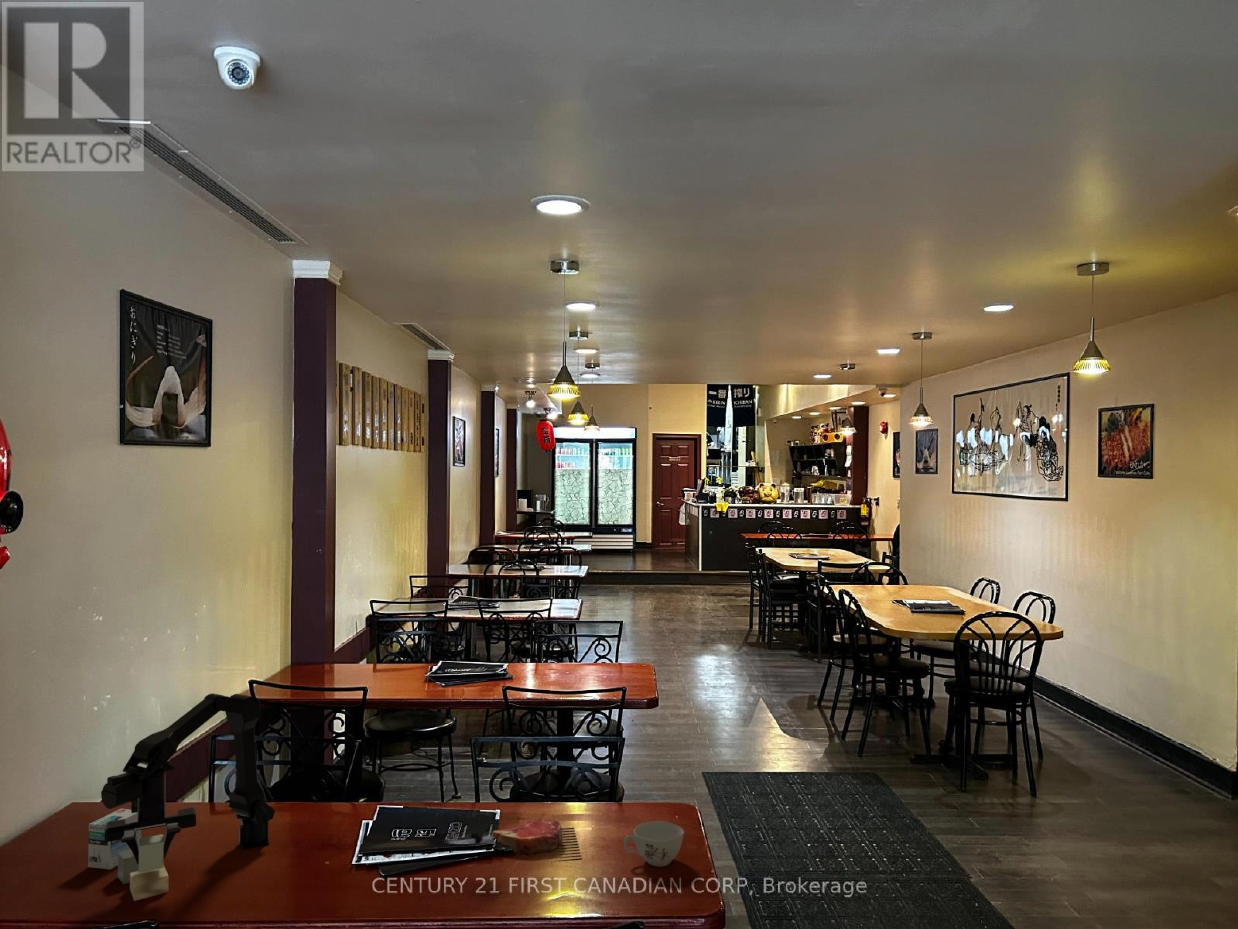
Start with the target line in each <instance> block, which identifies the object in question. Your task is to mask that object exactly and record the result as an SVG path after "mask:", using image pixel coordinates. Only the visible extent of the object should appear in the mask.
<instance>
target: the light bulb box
mask: <svg viewBox="0 0 1238 929" xmlns="http://www.w3.org/2000/svg"><path fill="white" fill-rule="evenodd" d="M121 819H125V824H127V823H133V822H138V812H137V813H131V809H129V808H128V809H127V808H119V809H117V810H115V811H113V812H111V813H109V814H107V815H105V816H103V817H101V818H98V819H97V820H94V821H93V822H91V823H88V868H94V869H103V870H109V871H110V870H112V869H114V868H116V867H118V852H122V851H125V850H129V849H130V847H129V846H128V845H127V843H126V842H125V843H122V842H121V839H120V840H116V841H110V842H105V826H106V824H107V823H108V822H109V821H115V820H121ZM136 833H137V842H138V847H139V838H142V830H138V831H136Z"/></svg>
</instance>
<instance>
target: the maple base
mask: <svg viewBox="0 0 1238 929" xmlns="http://www.w3.org/2000/svg"><path fill="white" fill-rule="evenodd" d="M129 890H130V894H131V897H132V899H133V901H134V902H135V901H140V900H143V899H147V898H150V897H154V896H158V895H162V894H166V893H169V874H168V872H167V869H166V867H165V865H164V864H163V868H160V869H155V870H150V871H145V872H140V873H139V871H136V872H132V873H130V883H129Z"/></svg>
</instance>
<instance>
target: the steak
mask: <svg viewBox="0 0 1238 929" xmlns="http://www.w3.org/2000/svg"><path fill="white" fill-rule="evenodd" d="M574 829H575V827H566V828H562V823H561V822H560V821H559V820H555V819H545V820H543V821H542V819H541V818H540V817H539V818H536V819H534V820H533V819H531V820H529V821H526V822H524V824H522V825H520V826H515V827H513V828H507V829H500V830H498V829H497V830H493V831H492V838H493V837H494V838H495V839H496V840H497V841H498V842H501V843H502V844H504V845H508V846H511V847H512V848H513V850H514V852H516V853H519V854H518V855H523V856H532V855H540V854H549V855H545V857H550V858H547V860H548V859H549V860H550V861H549V860H548V861H547V863H548V862H550V863H554V862H555V860H552V859H553V857H552V856H553V854H552V853H553V852H556V853H557V854H555V856H559V857H556V859H561V860H557V862H565V861H580V860H581V861H582V860H583V857H582V854H581V852H580V851H581V850H580V846H579V843H578V839H577V835H576V830H574ZM564 838H565V839H564ZM567 846H568V847H567ZM568 849H569V850H568ZM557 850H558V851H557ZM565 852H567V853H565ZM565 855H569V856H565ZM570 855H571V856H570ZM565 858H566V859H565ZM568 858H569V859H568ZM570 858H571V859H570Z"/></svg>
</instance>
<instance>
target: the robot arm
mask: <svg viewBox="0 0 1238 929" xmlns="http://www.w3.org/2000/svg"><path fill="white" fill-rule="evenodd" d="M260 711H261V703H260V700H259V698H257V697H256V696H252V695H247V694H243V693H242V694H241V693H234V694H231V695H230V696H227V695H226V696H225V695H222V694H219V693H209V694H207V695H206V696H205V697H204V698H203V699H202V700H201V701H199V702H198V703H197V704H196V705H195V706H193V707H192V708H191V709H190V710H188V711H187V712H186V713H184V714H183V715H182V716H180V717H179V718H178V719H177V720H176V721H174V722H173V723H172V724H171V725H169V726H168V727H165V728H164V729H162V730H160V731H157V732H154V733H151V734H150V735H148V736H146V737H145V738H143V739H141V740H139V741H138V742H137V743H136V745H135V746H134V751H133V752H132V753H131V755H130V758H129V759H128V761H127V762H126V763H125V766H124V767H123V768H122V772H123V773H120V774H117V775H112V776H108V777H107V779H106V783H105V784H104V785H103V786H102V789H101V791H100V796H101V798H100V799H101V801H102V804H103V806H104V807H105V808H106V809H108V810H111V809H115V808H117V807H120V806H121V807H122V806H123V805H126V804H129V803H130V804H131V806H130V808H131V809H130V810H131V813H137V812H138V822H133V823H127V824H125V819H121V820H115V821H109V822H108V823H107V824H106V826H105V842H110V841H116V840H120V839H121V842H122V843H125V842H126V843H127V845H128V846H129V847H130V849H131V851H132V853H133V855H134V857H135V860H136V862H137V864H139V849H138V842H137V833H136V831H138V830H141V831H143V830H148V829H153V828H159V827H160V828H161V827H165V836H164V839H163V860H165V859H166V856H167V855H168V851H169V848H170V846H171V843H172V841H174V840H173V839H174V838H175V836H176V835H177V834H179V833H181V830H183V829H187V828H194V827H196V826H197V812H196V811H197V810H196V809H195V808H194V807H187V808H182V809H177V812H176V813H177V814H175V815H170V816H169V815H168V816H166V776H167V775H166V773H168V772H171V771H174V770H175V766H174V765H172V764H170V763H169V762H168V761H169V760H170V759H171V758H172V757H173V756H174V755H176V754H175V753H177V750H178V748H179V746H180V745H181V743H183V741H184V740H186V739H187V738H188V737H190V736H191V735H192V734H193V733H195V732H196V731H197V730H199V728H201V727H202V726H203V725H205V724H206V723H207V722H208V721H210V719H212V718H213V717H215V715H217V714H218V713H219V712H225V717H226V719H227V720H226V721H227V722H228V723H229V725H230V728H231V729H232V731H233V739H234V740H233V742H234V757H235V758H234V759H235V772H236V773H235V774H236V785H235V787H234V789H233V791H229V793H228V799H229V804H228V808H230V809H231V812H232V813H233V814H235V817H236V819H237V820H241V824H240V825H239V827H238V837H239V838H238V842H239V845H241V848H242V849H243V850H245V849H250V848H254V847H260V846H265V845H269V844H270V839H269V822H270V821H271V820H273V819H274V816H275V812H276V810H275V809H274V808H273V807H272V806H270V805H269V804H267V799H266V795H265V790H264V789H263V787H262V786H261V784H260V782H259V781H258V770H257V753H256V752H257V751H256V750H257V749H256V736H255V727H256V726H257V723H258V721H259V719H260ZM140 764H141V765H144V766H140Z"/></svg>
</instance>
